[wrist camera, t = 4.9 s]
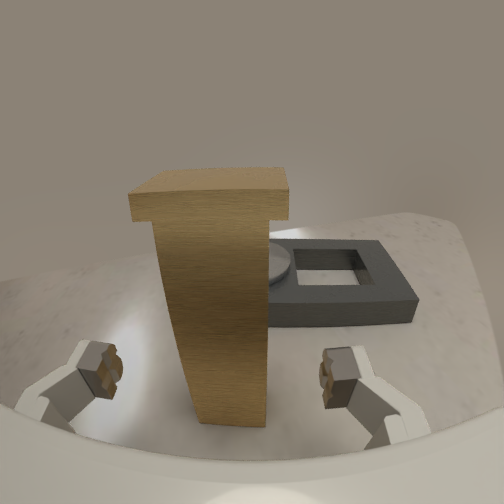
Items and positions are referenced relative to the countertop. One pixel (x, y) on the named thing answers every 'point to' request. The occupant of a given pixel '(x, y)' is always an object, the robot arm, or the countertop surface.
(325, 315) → the gray socket block
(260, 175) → the wedge pin
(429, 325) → the countertop surface
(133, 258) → the countertop surface
